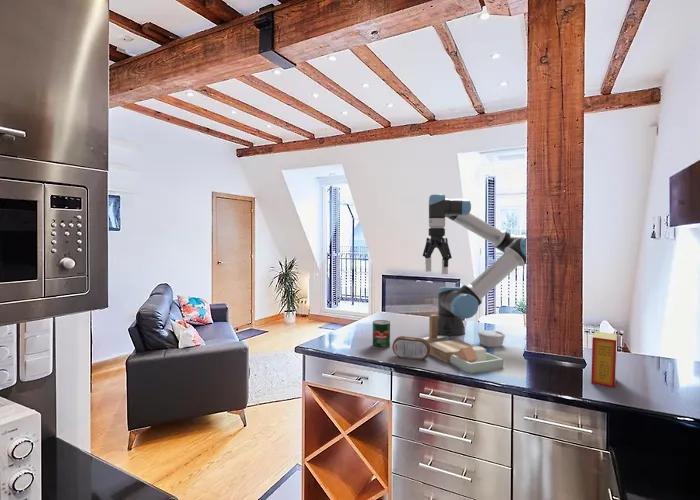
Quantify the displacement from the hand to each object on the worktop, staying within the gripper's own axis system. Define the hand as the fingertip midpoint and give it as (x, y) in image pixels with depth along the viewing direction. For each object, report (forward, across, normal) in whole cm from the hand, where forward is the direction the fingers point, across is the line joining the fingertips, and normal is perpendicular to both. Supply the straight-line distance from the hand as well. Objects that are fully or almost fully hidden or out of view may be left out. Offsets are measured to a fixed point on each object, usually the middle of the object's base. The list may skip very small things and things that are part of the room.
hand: (436, 272), depth 183 cm
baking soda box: (+32, +65, +24) cm, 76 cm away
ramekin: (+32, +16, +19) cm, 41 cm away
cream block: (+28, +33, -4) cm, 43 cm away
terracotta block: (+29, +35, -10) cm, 47 cm away
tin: (+32, +20, -25) cm, 45 cm away
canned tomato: (+32, +1, -29) cm, 43 cm away
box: (+32, +37, -6) cm, 49 cm away
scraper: (+32, +9, -7) cm, 34 cm away
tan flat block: (+32, +23, -7) cm, 40 cm away
